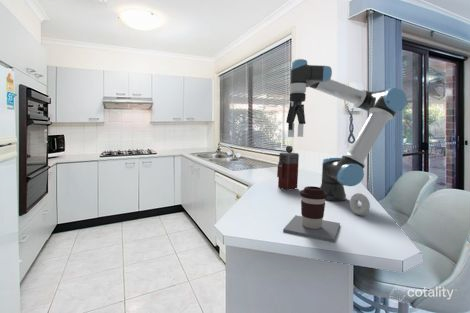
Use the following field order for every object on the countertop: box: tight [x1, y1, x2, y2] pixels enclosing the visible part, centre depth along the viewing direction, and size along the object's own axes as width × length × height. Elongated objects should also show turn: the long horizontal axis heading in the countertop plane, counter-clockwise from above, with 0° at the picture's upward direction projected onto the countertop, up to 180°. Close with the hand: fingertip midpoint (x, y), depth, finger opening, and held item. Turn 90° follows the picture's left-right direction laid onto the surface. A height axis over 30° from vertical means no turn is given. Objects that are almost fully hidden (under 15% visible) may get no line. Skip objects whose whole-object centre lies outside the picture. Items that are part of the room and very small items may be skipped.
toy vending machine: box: [276, 145, 300, 191], centre depth 166 cm, size 9×11×28 cm
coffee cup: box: [299, 185, 327, 229], centre depth 98 cm, size 10×10×15 cm
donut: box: [349, 193, 371, 217], centre depth 116 cm, size 10×4×10 cm, turn 21°
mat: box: [282, 215, 341, 243], centre depth 99 cm, size 18×18×1 cm
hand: (295, 136), depth 126 cm, fingers open, 13 cm apart
